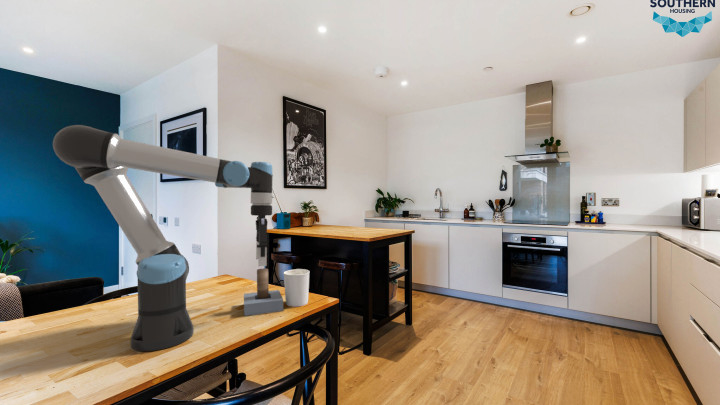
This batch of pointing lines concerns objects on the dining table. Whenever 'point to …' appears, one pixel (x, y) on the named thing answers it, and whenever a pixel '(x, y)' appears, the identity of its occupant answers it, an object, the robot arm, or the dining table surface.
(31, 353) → the dining table surface
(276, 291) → the socket block
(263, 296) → the peg
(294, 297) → the candle holder
